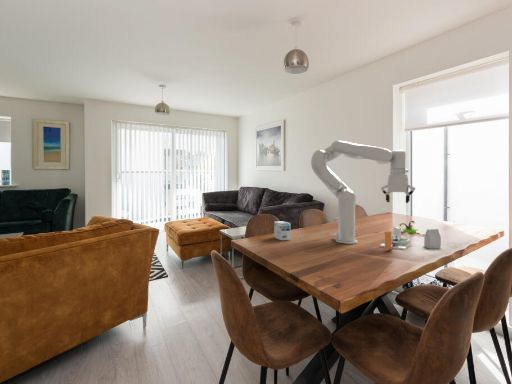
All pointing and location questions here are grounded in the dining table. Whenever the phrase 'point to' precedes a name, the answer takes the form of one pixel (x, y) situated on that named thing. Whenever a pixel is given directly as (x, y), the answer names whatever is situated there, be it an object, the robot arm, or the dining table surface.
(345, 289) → the dining table surface
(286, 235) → the light bulb box
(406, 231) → the plant
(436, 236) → the grey white box
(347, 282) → the dining table surface
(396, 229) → the grey rounded piece
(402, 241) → the dock
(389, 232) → the pin
